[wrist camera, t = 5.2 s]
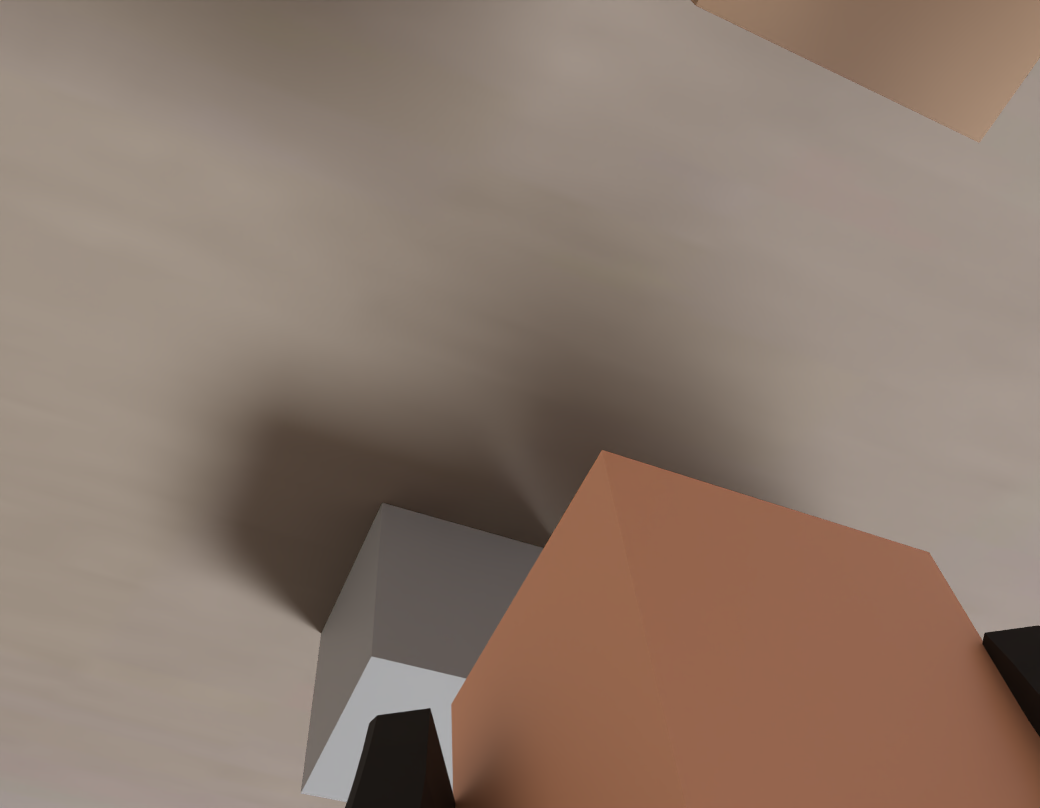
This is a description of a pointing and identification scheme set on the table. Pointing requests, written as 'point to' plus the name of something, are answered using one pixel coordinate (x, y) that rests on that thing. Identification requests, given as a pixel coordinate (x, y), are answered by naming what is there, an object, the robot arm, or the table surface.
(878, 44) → the wooden cube
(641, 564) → the terracotta block
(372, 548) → the light gray block
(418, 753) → the robot arm
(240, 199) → the table surface
